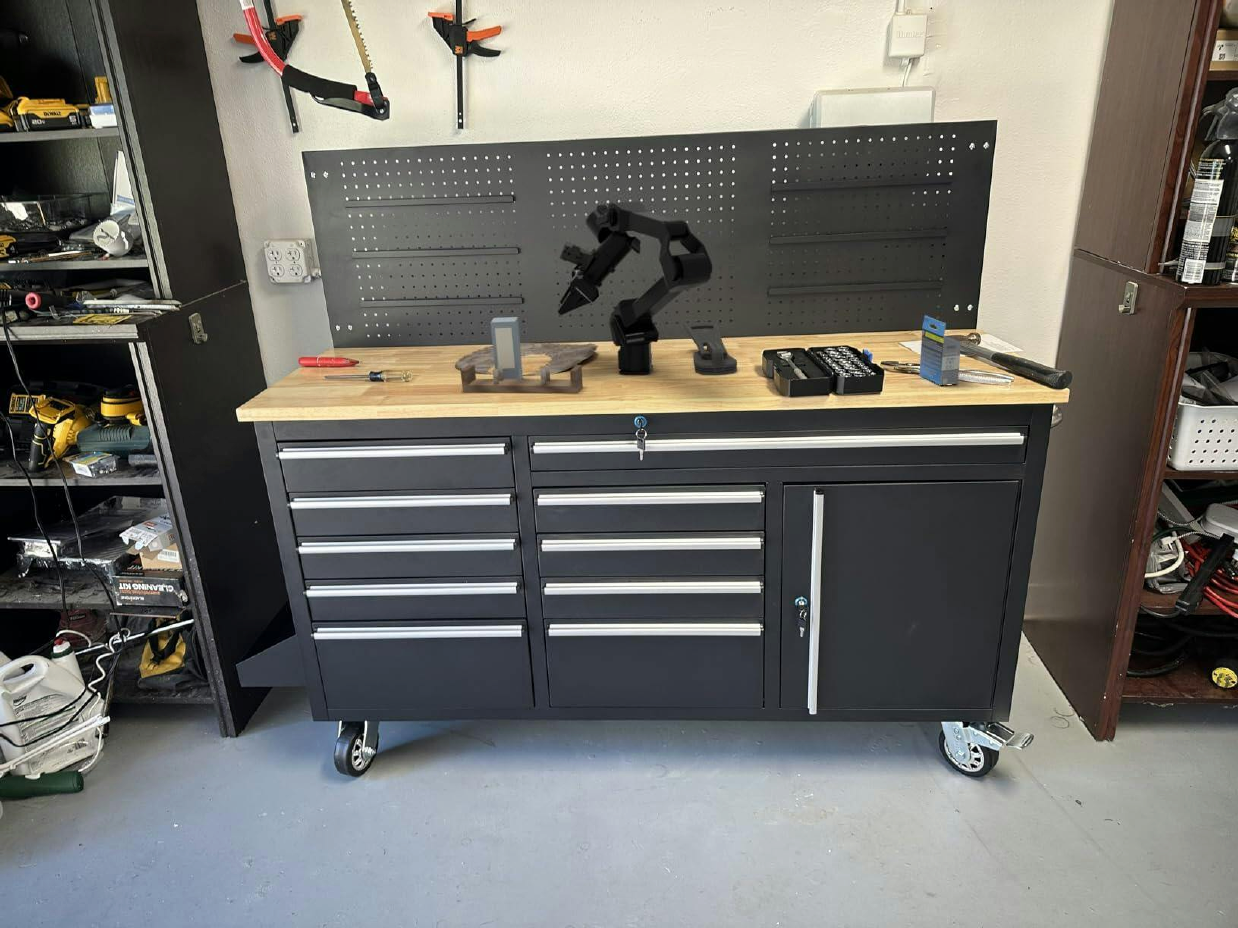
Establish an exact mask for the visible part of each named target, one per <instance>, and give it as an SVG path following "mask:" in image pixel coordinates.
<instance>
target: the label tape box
mask: <svg viewBox="0 0 1238 928" xmlns="http://www.w3.org/2000/svg"><path fill="white" fill-rule="evenodd" d="M933 325H934V327H936V329H935V328H934V327H931V326H933ZM946 326H947V324H946V322H943V321H940V320H938V319H935V318H932V317H930V316H928V315H924V319H923V323H922V328H921V332H922V333H921V346H920V359H919V360H920V361H919V362H920V363H919V377H921V376H922V377H921V378H923V377H924V378H923V379H925V378H926V379H925V380H927V379H928V380H927V381H929V380H930V382H932V381H933V382H932V383H934V382H935V383H934V384H936V385H938V384H940V385H947V384H958V385H959V378H960V377H959V373H960V363H961V362H960V361H961V350H962V349H961V348H962V347H961V346H962V343H961V341H958V340H956V339H953V338H952V337H948V336H946V335H945V332H946ZM940 385H939V386H940Z"/></svg>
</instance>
